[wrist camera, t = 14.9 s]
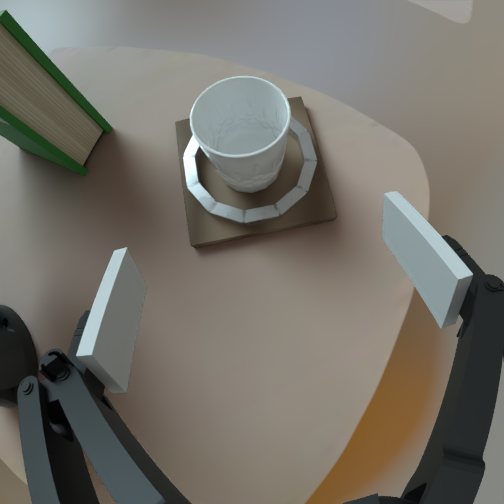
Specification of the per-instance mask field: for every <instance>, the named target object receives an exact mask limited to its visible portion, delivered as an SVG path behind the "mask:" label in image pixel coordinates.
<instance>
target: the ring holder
mask: <svg viewBox="0 0 504 504" xmlns="http://www.w3.org/2000/svg"><path fill="white" fill-rule="evenodd" d="M287 100H288V102H289V105H290V109H291V120H290V126H289V132H288V139H287V145H286V149H285V155H284V159H283V162H282V167H281V170H280V172H279V175H278V177H277V179H276V180H275V181H274V182H273V183H272V184H271V185H269V186H268V187H267V188H266V189H263V190H260V191H257V192H253V193H248V192H239V191H236V190H234V189H233V188H231V187H230V186H228V185H226V184H225V183H224V181H223V179H222V178H221V176H220V175H219V174H218V173H217V172H216V171H215V169H214V168H213V166H212V165H211V163H210V161H209V160H208V158H207V157H206V155H205V154H204V152H203V150H202V149H201V147H200V145H199V144H198V142H197V141H196V139H195V137H194V136H193V133H192V131H191V127H190V118H189V119H185V120H181V121H178V122H175V123H176V133H177V143H178V152H179V161H180V169H181V177H182V185H183V193H184V200H185V208H186V215H187V222H188V229H189V235H190V242H191V246H192V247H194V248H197V247H202V246H207V245H211V244H216V243H221V242H226V241H231V240H236V239H241V238H246V237H251V236H256V235H261V234H266V233H271V232H276V231H281V230H286V229H291V228H296V227H301V226H306V225H311V224H316V223H322V222H327V221H332V220H335V218H336V217H337V216H336V212H335V208H334V204H333V200H332V196H331V193H330V189H329V185H328V182H327V178H326V175H325V171H324V168H323V164H322V161H321V157H320V154H319V151H318V147H317V144H316V141H315V137H314V134H313V131H312V128H311V125H310V122H309V119H308V116H307V113H306V110H305V107H304V104H303V101H302V98H301V97H295V98H288V99H287Z"/></svg>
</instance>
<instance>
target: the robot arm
mask: <svg viewBox="0 0 504 504" xmlns="http://www.w3.org/2000/svg"><path fill="white" fill-rule="evenodd" d="M382 239H383V240H384V242H385V243H386V244H387V246H388V247H389V249H390V250H391V252H392V253H393V254H394V256H395V257H396V259H397V260H398V262H399V263H400V265H401V266H402V268H403V269H404V271H405V272H406V274H407V275H408V277H409V278H410V280H411V281H412V283H413V284H414V286H415V287H416V289H417V290H418V292H419V293H420V295H421V297H422V298H423V300H424V301H425V303H426V304H427V306H428V308H429V309H430V311H431V313H432V314H433V316H434V318H435V319H436V321H437V323H438V324H439V326H440V328H441V329H442V328H445V327H447V326H450V325H453V324H455V323H456V320H457V318H458V315H459V314H460V316H461V317H462V319H463V323H462V325H461V327H460V329H459V332H458V334H457V337H459V339H458V344H457V349H456V353H455V357H454V362H453V366H452V370H451V374H450V377H449V381H448V385H447V388H446V391H445V395H444V398H443V401H442V405H441V408H440V411H439V414H438V417H437V420H436V423H435V426H434V428H433V431H432V434H431V436H430V439H429V442H428V444H427V446H426V449H425V452H424V454H423V456H422V459H421V461H420V463H419V466H418V468H417V470H416V472H415V473H414V474H413V476H412V477H411V479H410V481H409V482H408V484H407V486H406V488H405V490H404V492H403V494H402V496H401V497H400V498H398V497H391V496H378V494H374V495H370V496H367V497H364V498H360V499H357V500H353V501H349V502H345V503H343V504H473V502H474V499H475V497H476V494H477V492H478V489H479V486H480V483H481V481H482V478H483V475H484V470H485V462H484V461H483V452H484V449H485V445H486V442H487V438H488V434H489V430H490V426H491V422H492V417H493V413H494V409H495V403H496V398H497V393H498V387H499V380H500V374H501V367H502V357H503V358H504V283H503V281H502V280H501V279H499V278H498V277H496V276H494V275H489V274H487V275H486V274H485V273H484V272H483V271H482V269H481V268H480V267H479V266H478V265H477V264H476V262H475V261H474V260H473V259H472V258H471V257H470V256H469V255H468V253H467V252H466V251H465V250H464V249H463V248H462V246H461V245H460V244H459V243H458V242H457V241H456V240H454V239H453V238H451V237H449V236H448V235H445V236H440V235H439V234H438V233H437V232H436V231H435V230H434V228H433V227H432V226H431V225H430V224H429V223H428V222H427V221H426V220H425V219H424V218H423V217H422V216H421V215H420V214H419V213H418V212H417V210H416V209H415V208H414V207H413V206H412V205H411V204H410V203H409V202H408V201H407V200H406V199H405V198H404V197H403V196H402V195H400V194H399V193H398V192H397V191H394V192H388V193H384V209H383V230H382ZM146 290H147V286H146V284H145V282H144V280H143V278H142V276H141V274H140V272H139V270H138V268H137V266H136V264H135V262H134V260H133V258H132V256H131V254H130V252H129V250H128V248H127V247H126V248H122V249H118V250H114V253H113V255H112V257H111V260H110V262H109V265H108V267H107V269H106V272H105V274H104V277H103V279H102V282H101V285H100V287H99V290H98V292H97V295H96V298H95V301H94V303H93V306H92V309H91V310H88V311H86V312H85V313H84V314H83V316H82V317H81V318H80V320H79V323H78V325H77V328H76V329H77V330H76V331H75V334H74V337H73V340H72V343H71V346H70V349H69V352H68V355H67V357H66V355H65V354H64V353H63V352H62V351H61V350H60V349H52V350H50V351H48V352H47V353H46V354H45V355H44V356H43V357H42V359H41V361H40V364H39V371H40V372H41V373H42V374H43V375H44V376H45V377H46V378H47V379H45V380H43V381H39V380H38V379H37V361H36V355H35V350H34V346H33V343H32V340H31V337H30V335H29V332H28V330H27V328H26V326H25V325H24V323H23V321H22V320H21V318H20V317H19V316H18V315H17V314H16V313H15V312H14V311H13V310H12V309H11V308H9V307H7V306H5V305H0V406H2V407H16V406H18V415H19V427H20V437H21V445H22V453H23V459H24V466H25V471H26V477H27V482H28V487H29V491H30V496H31V500H32V504H99V501H98V498H97V495H96V493H95V490H94V487H93V484H92V481H91V478H90V475H89V472H88V469H87V465H86V462H85V459H84V455H83V452H82V448H83V450H84V452H85V453H86V455H87V457H88V459H89V460H90V462H91V464H92V466H93V467H94V469H95V471H96V472H97V474H98V475H99V477H100V479H101V480H102V482H103V483H104V485H105V487H106V488H107V490H108V491H109V493H110V494H111V496H112V497H113V498H114V500H115V501H116V503H117V504H191V503H190V502H189V501H188V500H187V499H186V498H185V497H184V496H183V495H182V494H181V493H180V491H179V490H178V489H177V488H176V487H175V486H174V485H173V484H172V483H171V481H170V480H169V479H168V478H167V477H166V476H165V475H164V473H163V472H162V471H161V470H160V469H159V468H158V466H157V465H156V464H155V463H154V462H153V460H152V459H151V458H150V457H149V455H148V454H147V453H146V452H145V450H144V449H143V448H142V446H141V445H140V444H139V442H138V441H137V440H136V439H135V437H134V436H133V434H132V433H131V432H130V430H129V429H128V428H127V426H126V425H125V423H124V422H123V421H122V419H121V418H120V416H119V415H118V413H117V412H116V410H115V409H114V407H113V406H112V404H111V403H110V401H109V400H108V398H107V397H106V396H105V395H104V394H103V393H104V388H105V387H106V388H107V389H108V390H109V391H110V392H111V393H127V389H128V382H129V376H130V370H131V364H132V358H133V353H134V347H135V342H136V337H137V332H138V327H139V322H140V317H141V312H142V308H143V303H144V299H145V294H146ZM81 446H82V448H81Z"/></svg>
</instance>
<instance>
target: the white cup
mask: <svg viewBox="0 0 504 504" xmlns="http://www.w3.org/2000/svg"><path fill="white" fill-rule="evenodd" d="M290 120H291V109H290V105H289V102H288V100H287V98H286V96H285V95H284V93H283V92H282V91H281V90H280V89H279V88H278V87H277V86H275V85H274V84H272V83H271V82H269V81H266V80H264V79H261V78H257V77H252V76H236V77H230V78H226V79H223V80H221V81H218V82H216V83H214V84H213V85H211V86H210V87H208V88H207V89H206V90H204V91H203V92H202V93H201V94H200V96H199V97H198V98H197V100H196V101H195V103H194V105H193V107H192V110H191V114H190V127H191V131H192V133H193V136H194V137H195V139H196V141H197V142H198V144H199V145H200V147H201V149H202V150H203V152H204V154H205V155H206V157H207V158H208V160H209V161H210V163H211V165H212V166H213V168H214V169H215V171H216V172H217V173H218V174H219V175H220V176H221V178H222V179H223V181H224V183H225V184H226V185H228V186H230V187H231V188H233V189H234V190H236V191H239V192H248V193H253V192H257V191H260V190H263V189H266V188H267V187H268V186H269V185H271V184H272V183H273V182H274V181H275V180H276V179H277V177H278V175H279V172H280V170H281V167H282V162H283V159H284V155H285V149H286V145H287V139H288V132H289V126H290Z"/></svg>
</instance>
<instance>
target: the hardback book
mask: <svg viewBox="0 0 504 504" xmlns="http://www.w3.org/2000/svg"><path fill="white" fill-rule="evenodd" d="M111 129H112V127H111V126H110V124H109V123H108V122H107V121H106V120H105V119H104V118H103V117H102V116H101V115H100V114H99V113H98V111H97V110H96V109H95V108H94V107H93V106H92V105H91V104H90V103H89V102H88V101H87V100H86V98H85V97H84V96H83V95H82V94H81V93H80V92H79V91H78V90H77V89H76V88H75V86H74V85H73V84H72V83H71V82H70V81H69V80H68V79H67V78H66V77H65V75H64V74H63V73H62V72H61V71H60V70H59V69H58V68H57V67H56V66H55V64H54V63H53V62H52V61H51V60H50V59H49V58H48V57H47V56H46V54H45V53H44V52H43V51H42V50H41V49H40V48H39V47H38V46H37V44H36V43H35V42H34V41H33V40H32V39H31V38H30V37H29V35H28V34H27V33H26V32H25V31H24V30H23V29H22V28H21V26H19V24H18V23H17V22H16V21H15V20H14V18H12V16H11V15H10V14H9V13H8V12H7V11H6V10H3V11H0V135H1V136H3V137H4V138H6V139H7V140H9V141H11V142H12V143H14V144H15V145H17V146H18V147H20V148H22V149H25V150H27V151H29V152H31V153H34V154H36V155H38V156H40V157H43V158H45V159H47V160H49V161H52V162H54V163H56V164H58V165H61V166H63V167H65V168H67V169H70V170H72V171H74V172H76V173H79V174H81V175H83V176H85V175H86V173H87V171H88V169H86V168H85V167H83V164H84V163H85V161H86V159H87V157H88V155H89V154H90V152H91V150H92V148H93V147H94V145H95V143H96V141H97V140H98V138H99V136H100V135H101V133H102V131H103V132H106V133H110V131H111Z"/></svg>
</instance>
